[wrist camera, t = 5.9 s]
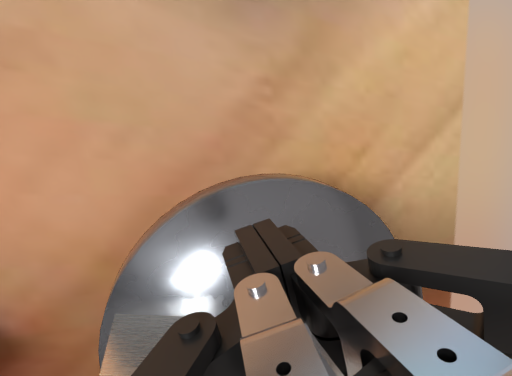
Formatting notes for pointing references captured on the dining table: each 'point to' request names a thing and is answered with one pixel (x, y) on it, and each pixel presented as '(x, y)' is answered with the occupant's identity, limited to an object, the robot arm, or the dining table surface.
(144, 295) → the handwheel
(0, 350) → the dining table surface
